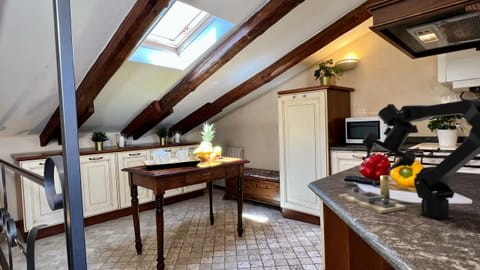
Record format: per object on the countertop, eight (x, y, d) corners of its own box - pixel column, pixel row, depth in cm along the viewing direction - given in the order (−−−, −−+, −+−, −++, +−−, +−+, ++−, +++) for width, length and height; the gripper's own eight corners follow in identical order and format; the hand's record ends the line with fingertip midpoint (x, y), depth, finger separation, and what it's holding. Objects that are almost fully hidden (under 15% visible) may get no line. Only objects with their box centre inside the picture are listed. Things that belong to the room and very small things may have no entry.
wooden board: (405, 209, 94) (405, 206, 94) (380, 213, 91) (380, 210, 91) (360, 194, 115) (360, 191, 115) (338, 197, 112) (338, 194, 112)
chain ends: (398, 205, 95) (398, 196, 95) (381, 208, 93) (380, 199, 93) (359, 193, 113) (359, 185, 113) (344, 195, 111) (344, 187, 111)
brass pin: (391, 198, 107) (391, 176, 106) (385, 199, 106) (384, 177, 105) (385, 196, 110) (384, 175, 109) (378, 197, 109) (378, 175, 108)
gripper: (428, 136, 100) (406, 164, 110) (379, 114, 108) (362, 142, 118) (423, 151, 93) (400, 180, 103) (370, 126, 100) (354, 155, 111)
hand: (378, 163), depth 109 cm, fingers open, 9 cm apart
